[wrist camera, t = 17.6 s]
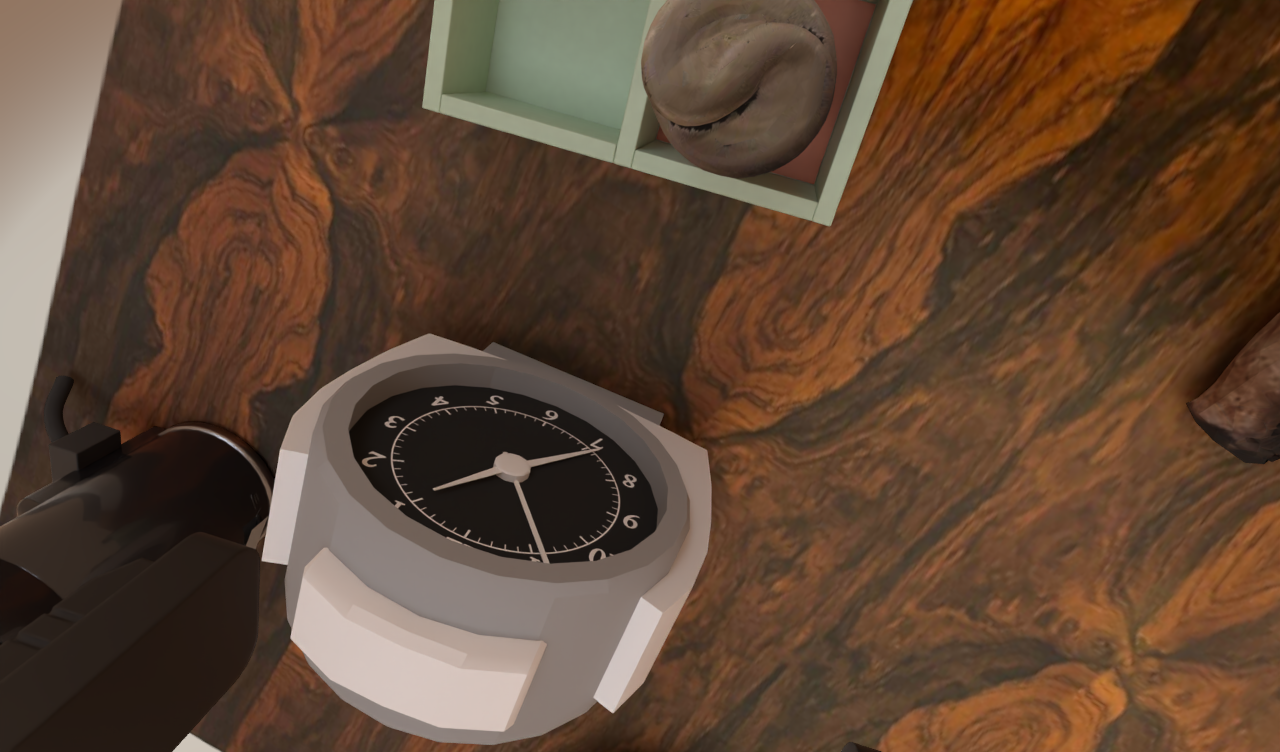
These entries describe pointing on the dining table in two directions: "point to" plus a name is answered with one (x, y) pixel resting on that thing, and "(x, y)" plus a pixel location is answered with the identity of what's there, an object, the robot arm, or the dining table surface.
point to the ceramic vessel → (1246, 400)
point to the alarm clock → (483, 540)
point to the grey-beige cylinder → (740, 80)
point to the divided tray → (640, 89)
